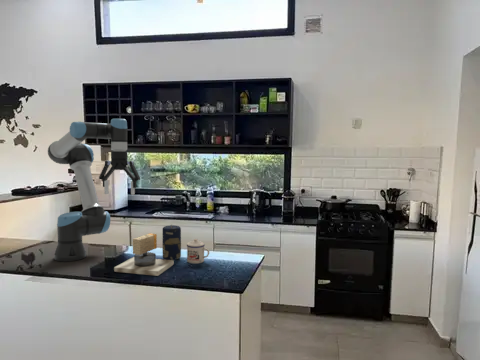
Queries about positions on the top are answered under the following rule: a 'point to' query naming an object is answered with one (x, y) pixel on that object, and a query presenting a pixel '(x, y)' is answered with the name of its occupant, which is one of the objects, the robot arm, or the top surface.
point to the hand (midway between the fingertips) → (119, 194)
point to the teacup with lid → (196, 251)
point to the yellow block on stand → (144, 250)
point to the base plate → (144, 267)
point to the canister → (171, 242)
